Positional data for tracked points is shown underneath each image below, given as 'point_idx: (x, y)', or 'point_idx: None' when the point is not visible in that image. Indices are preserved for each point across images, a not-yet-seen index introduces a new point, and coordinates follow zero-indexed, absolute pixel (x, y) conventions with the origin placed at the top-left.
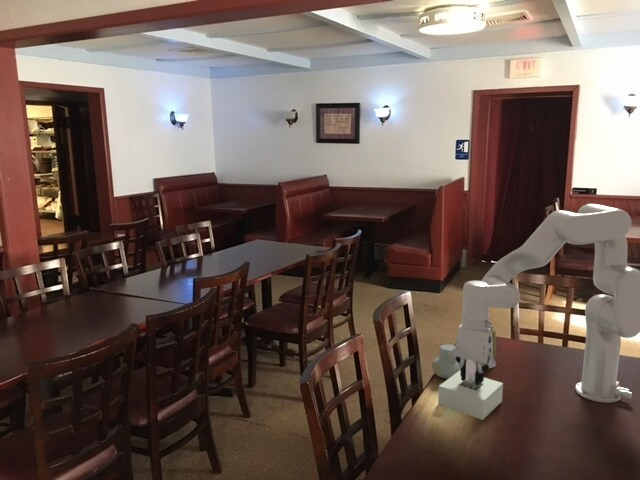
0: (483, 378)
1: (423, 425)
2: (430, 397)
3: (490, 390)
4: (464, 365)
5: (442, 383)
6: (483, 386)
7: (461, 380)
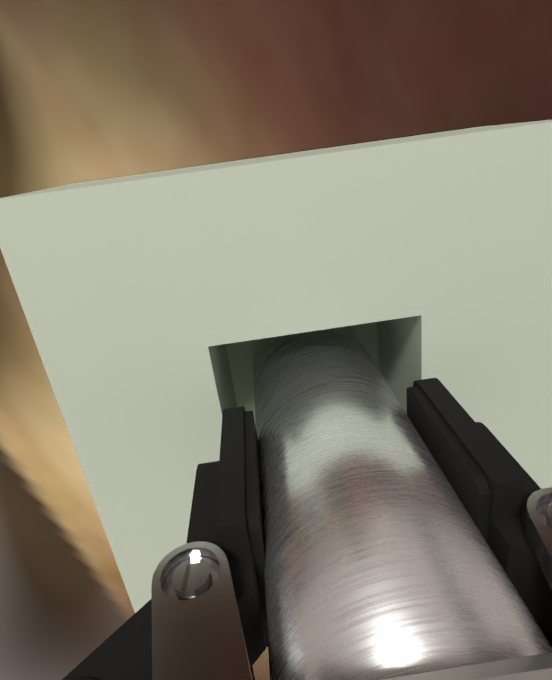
0: (492, 441)
1: (259, 668)
2: (64, 467)
3: (531, 390)
4: (258, 650)
5: (124, 579)
6: (441, 369)
7: (200, 420)
